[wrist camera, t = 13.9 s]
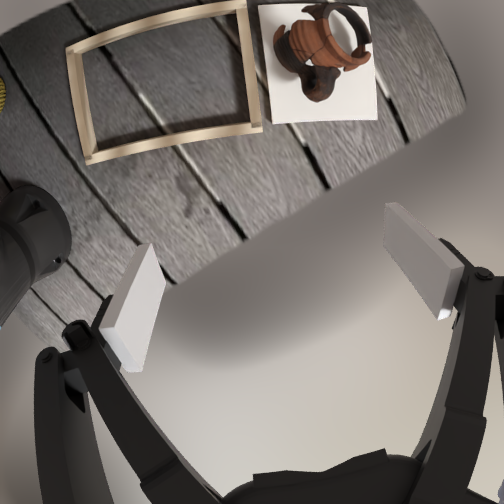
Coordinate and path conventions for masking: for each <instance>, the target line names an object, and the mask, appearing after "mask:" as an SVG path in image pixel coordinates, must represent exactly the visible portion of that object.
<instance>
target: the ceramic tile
mask: <svg viewBox="0 0 504 504" xmlns="http://www.w3.org/2000/svg"><path fill="white" fill-rule="evenodd" d="M307 5H315V4H272V5H258V13H259V20H260V27H261V35H262V42H263V50H264V58H265V66H266V74H267V82H268V90H269V99H270V108H271V117H272V124H280V123H293V122H309V121H331V120H377V98H376V83H375V70H374V59H373V50H372V43H371V44H366V45H365V47H366V51H369V52H370V53H371V57H370V59H369V61H368V62H367V63H365V64H363V65H360V66H359V67H358V68H356V69H354V70H351V71H348V72H344V71H343V68H344V67H341V68H338V69H339V70H340V71H341V75H340V76H339V77H338V78H337V79H336V81H335V87H334V90H333V92H332V94H331V96H330V97H329V98H328V99H326V100H323V101H320V102H318V103H316V102H313V101H311V100H309V99H308V98H307V97H306V96H305V95H304V94H303V92H302V88H301V80H300V77H299V75H298V74H297V73H291V72H289V71H288V70H287V69H286V68H285V67H283V66H282V65H281V63H280V62H279V61H278V59H277V57H276V55H275V52H274V48H273V36H274V34H275V32H276V31H277V29H278V28H279V27H280V26H281V25H282V24H284V25H286V28H285V31H284V34H285V32H287V31H288V30H291V26H292V24H293V23H294V22H295V21H297V20H314V18H313V17H312V16H311V15H310V14H308V13H303V12H301V10H302V9H303V8H304V7H305V6H307ZM349 7H351V8H352V9H353V10H354V11H356V12H357V14H358V15H359V16H360V17H361V18H362V20H363V21H364V22H365V24H366V26H367V28H368V30H369V32H370V26H369V19H368V13H367V7H357V6H349ZM328 20H329V26H330V30H331V33H332V35H333V37H334V39H335V41H336V42H337V44H338V45H339V46H340V47H341V48H342V50H343V51H344V52H346V53H347V54H348V55H350V56H351V53H352V51H354V50H355V49H356V48H357V39H356V34H355V31H354V30H353V28H352V26H351V25H350V24H349V23H348V21H347V20H346V17H344V16H343V15H341V14H340V13H339V12H337V11H336V10H333V11H331V13H330V15H329V18H328ZM370 35H371V33H370ZM306 64H307V65H311V66H313V64H312V62H311V60H310V59H309V60H308V61H307V62H306Z"/></svg>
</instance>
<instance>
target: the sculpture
mask: <svg viewBox="0 0 504 504" xmlns="http://www.w3.org/2000/svg"><path fill="white" fill-rule="evenodd" d="M4 93H6V90H5V84H4V82H3V80H2V79H1V78H0V113H1V111H2V109H3V107H4V103H5V101H4V100H5V97H3V96H6V94H4ZM2 94H3V95H2Z"/></svg>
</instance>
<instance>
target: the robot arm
mask: <svg viewBox="0 0 504 504" xmlns="http://www.w3.org/2000/svg"><path fill="white" fill-rule="evenodd" d="M71 244H72V238H71V231H70V226H69V223H68V220H67V218H66V216H65V214H64V212H63V210H62V208H61V207H60V205H59V204H58V203H57V202H56V200H55V199H54V198H53V197H52V196H51V195H50V194H48V193H47V192H46V191H44V190H42V189H40V188H38V187H35V186H29V185H27V186H21V187H19V188H17V189H15V190H14V191H12V192H11V193H9V194H8V195H7V196H6V197H5V198H4V199H3V200H2V202H1V204H0V329H1V327H2V325H3V324H4V323H5V321H6V320H7V318H8V317H9V315H10V314H11V313H12V311H13V310H14V308H15V307H16V305H17V304H18V303H19V301H20V300H21V299H22V297H23V296H24V295H25V293H26V292H27V291H28V289H29V288H30V287H31V285H32V284H33V283H35V282H37V281H39V280H41V279H43V278H45V277H47V276H49V275H51V274H53V273H55V272H56V271H57V270H58V269H59V268H60V267H61V266H62V265H63V264H64V262H65V261H66V260H67V258H68V256H69V254H70V251H71ZM383 246H384V248H385V249H386V250H387V251H388V253H389V254H390V255H391V257H392V258H393V259H394V261H395V262H396V263H397V264H398V266H399V267H400V268H401V270H402V271H403V272H404V274H405V275H406V276H407V278H408V279H409V280H410V282H411V283H412V285H413V286H414V287H415V289H416V290H417V292H418V293H419V294H420V296H421V297H422V299H423V300H424V301H425V303H426V304H427V306H428V307H429V309H430V310H431V311H432V313H433V315H434V316H435V317H436V319H437V320H440V319H443V318H446V317H449V316H450V315H451V312H452V309H453V306H454V307H455V308H456V309H457V311H458V312H457V316H456V318H455V321H454V324H453V327H452V329H453V334H452V339H451V343H450V348H449V352H448V356H447V360H446V364H445V367H444V371H443V375H442V378H441V382H440V385H439V388H438V392H437V394H436V397H435V401H434V404H433V406H432V410H431V412H430V415H429V418H428V421H427V423H426V426H425V428H424V431H423V433H422V436H421V438H420V441H419V443H418V445H417V447H416V449H415V450H414V452H413V454H412V456H411V457H407V456H403V455H391V454H390V455H387V453H386V450H385V448H384V449H381V450H377V451H374V452H371V453H367V454H363V455H360V456H356V457H353V458H351V459H349V460H347V461H345V462H343V463H341V464H339V465H337V466H335V467H333V468H330V469H328V470H326V471H323V472H303V471H288V470H286V471H278V472H269V473H260V474H253V481H250V482H247V483H245V484H243V485H240V486H239V487H237V488H235V489H234V490H232V491H231V492H229V493H228V494H227V495H226V496H225V497H222V496H221V495H220V494H219V493H218V492H217V491H216V490H215V489H214V488H212V487H211V486H210V485H209V484H208V483H207V482H206V481H205V480H204V479H203V478H202V477H201V476H200V474H199V473H198V472H197V471H196V470H195V469H194V468H193V467H192V466H191V465H190V464H189V462H188V461H187V460H186V459H185V458H184V457H183V456H182V454H181V453H180V452H179V451H178V450H177V449H176V447H175V446H174V445H173V444H172V443H171V441H170V440H169V439H168V438H167V436H166V435H165V434H164V433H163V431H162V430H161V429H160V428H159V426H158V425H157V424H156V422H155V421H154V420H153V418H152V417H151V416H150V414H149V413H148V412H147V410H146V409H145V408H144V406H143V405H142V404H141V402H140V401H139V399H138V398H137V396H136V395H135V394H134V392H133V391H132V389H131V388H130V386H129V385H128V383H127V382H126V380H125V379H124V378H123V376H122V374H121V373H120V371H119V370H120V367H121V364H122V366H123V367H124V368H125V370H126V371H127V372H142V369H143V365H144V361H145V357H146V353H147V349H148V345H149V341H150V338H151V334H152V330H153V327H154V323H155V319H156V316H157V312H158V308H159V305H160V302H161V298H162V295H163V291H164V288H165V285H166V281H165V279H164V276H163V274H162V271H161V268H160V266H159V263H158V260H157V258H156V255H155V252H154V249H153V247H152V244H151V243H148V244H143V245H139V246H138V248H137V250H136V252H135V254H134V255H133V257H132V259H131V261H130V263H129V265H128V267H127V269H126V271H125V273H124V275H123V277H122V279H121V281H120V283H119V285H118V287H117V289H116V291H115V293H114V295H109V296H108V297H107V298H106V299H105V300H104V301H103V302H102V304H101V306H100V308H99V311H98V312H97V314H96V317H95V319H94V321H93V323H92V325H91V327H89V325H88V323H87V322H86V321H85V320H76V321H74V322H71V323H70V324H69V325H67V326H66V328H65V329H64V330H63V332H62V339H63V341H64V342H65V343H66V345H67V346H68V348H69V349H70V350H69V351H66V352H63V353H59V351H58V350H57V349H56V348H55V347H47V348H45V349H43V350H42V351H41V352H40V353H39V355H38V356H37V358H36V362H35V381H34V428H35V446H36V456H37V466H38V475H39V482H40V489H41V495H42V500H43V504H114V502H113V499H112V496H111V493H110V490H109V486H108V483H107V480H106V476H105V473H104V469H103V466H102V462H101V458H100V454H99V450H98V446H97V441H96V437H95V432H94V427H93V422H92V417H91V411H90V405H89V399H88V394H87V392H88V391H89V393H90V395H91V397H92V399H93V401H94V403H95V405H96V407H97V409H98V411H99V413H100V415H101V416H102V418H103V420H104V422H105V424H106V426H107V427H108V429H109V431H110V433H111V435H112V436H113V438H114V440H115V441H116V443H117V445H118V446H119V448H120V450H121V451H122V453H123V455H124V456H125V458H126V459H127V461H128V462H129V464H130V465H131V467H132V468H133V470H134V471H135V473H136V474H137V476H138V477H139V479H140V481H141V483H140V487H141V489H142V491H143V492H144V493H145V495H146V496H147V498H148V499H149V500H150V502H151V503H152V504H504V480H503V482H502V486H501V487H500V488H499V490H498V497H499V498H500V501H499V503H496V502H494V501H492V500H490V499H488V498H486V497H483V496H482V495H480V494H478V493H476V492H474V491H472V490H470V489H468V488H467V487H468V485H469V482H470V479H471V476H472V473H473V470H474V467H475V464H476V461H477V458H478V454H479V451H480V447H481V444H482V440H483V436H484V432H485V428H486V421H487V420H486V417H483V410H484V405H485V400H486V395H487V389H488V383H489V377H490V369H491V361H492V352H493V341H494V335H495V341H496V346H497V352H498V358H499V365H500V372H501V381H502V390H503V401H504V276H494V274H493V273H492V272H491V271H489V270H488V269H486V268H483V267H474V266H473V265H472V264H471V263H470V262H469V261H468V260H467V259H466V258H465V257H464V256H463V255H462V254H460V252H459V251H458V250H457V249H456V248H455V247H454V246H453V245H452V244H451V243H449V242H448V241H446V240H444V239H442V238H440V239H437V238H436V237H435V236H434V235H433V234H432V233H431V232H430V231H429V230H428V229H427V228H426V227H424V226H423V225H422V224H421V223H420V222H419V221H418V220H417V219H416V218H415V217H413V216H412V215H411V214H410V213H409V212H407V210H405V209H404V208H403V207H402V206H401V205H400V204H398V203H397V202H394V203H386V204H385V223H384V242H383ZM503 403H504V402H503Z"/></svg>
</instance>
